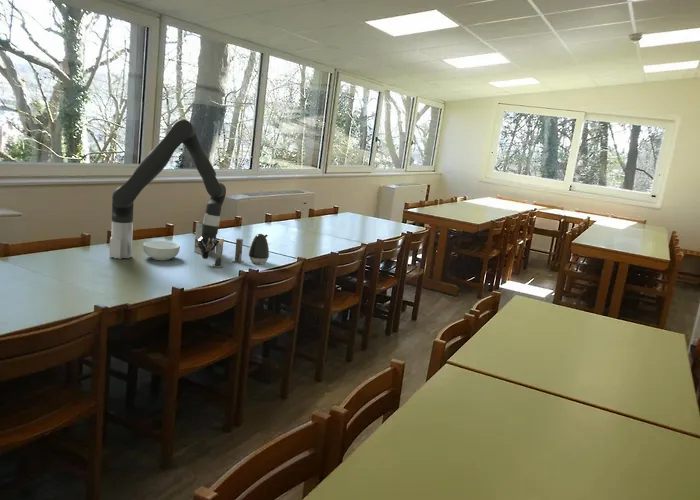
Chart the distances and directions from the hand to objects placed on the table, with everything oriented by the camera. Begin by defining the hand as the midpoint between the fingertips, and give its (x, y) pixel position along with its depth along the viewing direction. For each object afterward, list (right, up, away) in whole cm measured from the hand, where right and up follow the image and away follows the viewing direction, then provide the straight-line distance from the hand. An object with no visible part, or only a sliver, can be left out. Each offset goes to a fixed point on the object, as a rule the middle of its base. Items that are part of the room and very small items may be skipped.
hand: (204, 258), depth 261 cm
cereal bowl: (-22, 0, +1) cm, 22 cm away
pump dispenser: (+23, -3, +15) cm, 28 cm away
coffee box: (-6, +3, +23) cm, 24 cm away
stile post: (+14, -2, +11) cm, 18 cm away
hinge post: (+7, -4, -1) cm, 8 cm away
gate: (+5, -1, +8) cm, 9 cm away
